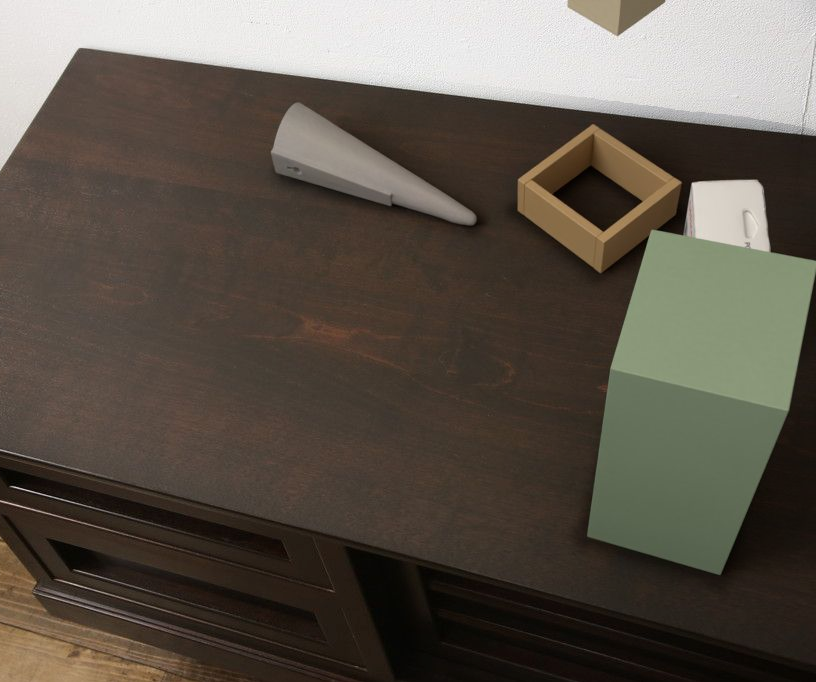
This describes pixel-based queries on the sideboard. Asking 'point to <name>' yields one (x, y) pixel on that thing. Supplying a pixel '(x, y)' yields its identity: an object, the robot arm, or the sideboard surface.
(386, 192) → the grey tapered cone
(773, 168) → the sideboard surface
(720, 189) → the ink box
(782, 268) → the stand
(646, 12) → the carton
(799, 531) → the sideboard surface
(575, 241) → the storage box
